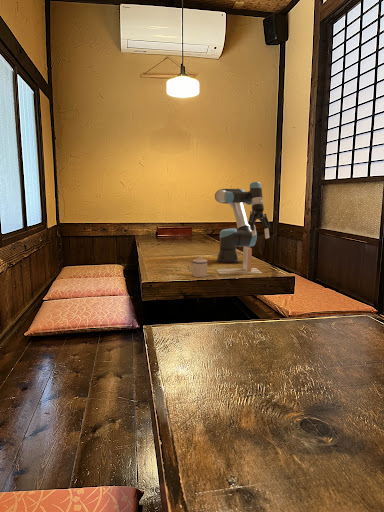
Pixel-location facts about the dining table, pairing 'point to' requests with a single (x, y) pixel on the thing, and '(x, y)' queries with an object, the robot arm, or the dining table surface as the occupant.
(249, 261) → the tile
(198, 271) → the teacup with lid
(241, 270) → the board
